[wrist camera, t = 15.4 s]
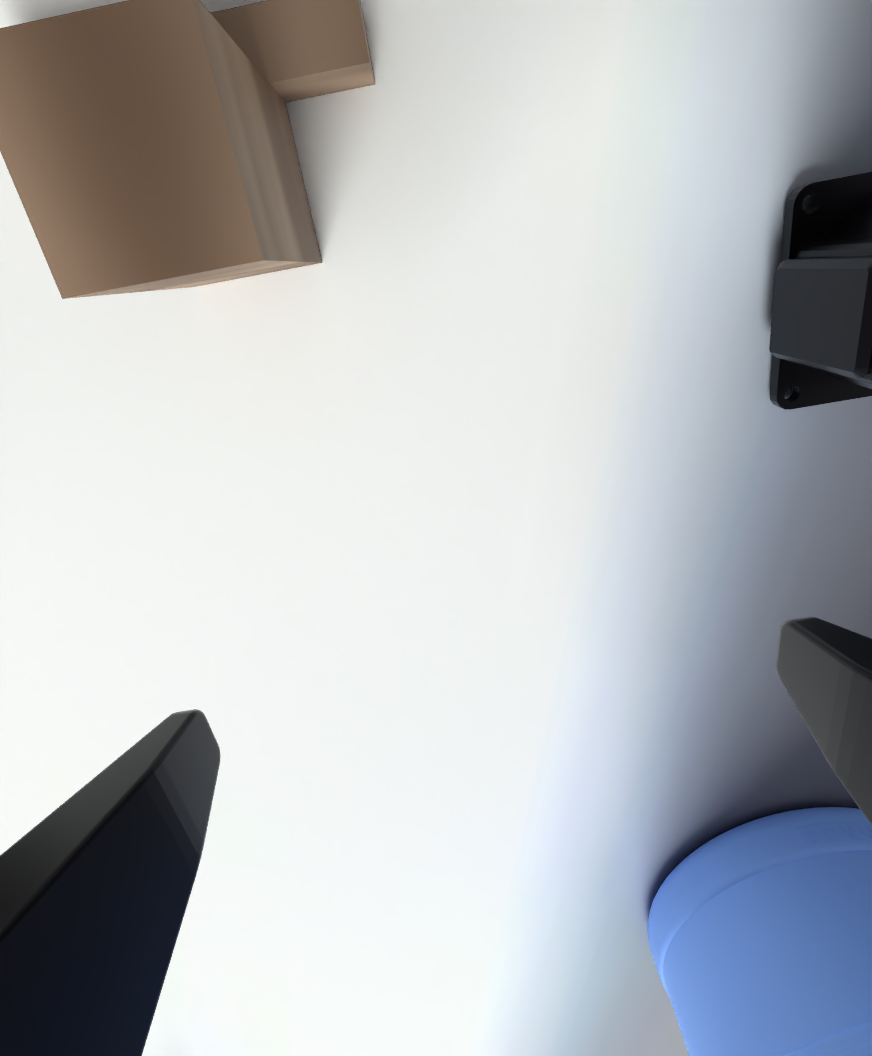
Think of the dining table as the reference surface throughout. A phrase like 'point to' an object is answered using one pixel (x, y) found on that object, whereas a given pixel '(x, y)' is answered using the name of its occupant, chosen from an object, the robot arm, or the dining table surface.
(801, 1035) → the water jug
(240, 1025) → the dining table surface
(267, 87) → the brown t-shaped block
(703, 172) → the dining table surface
